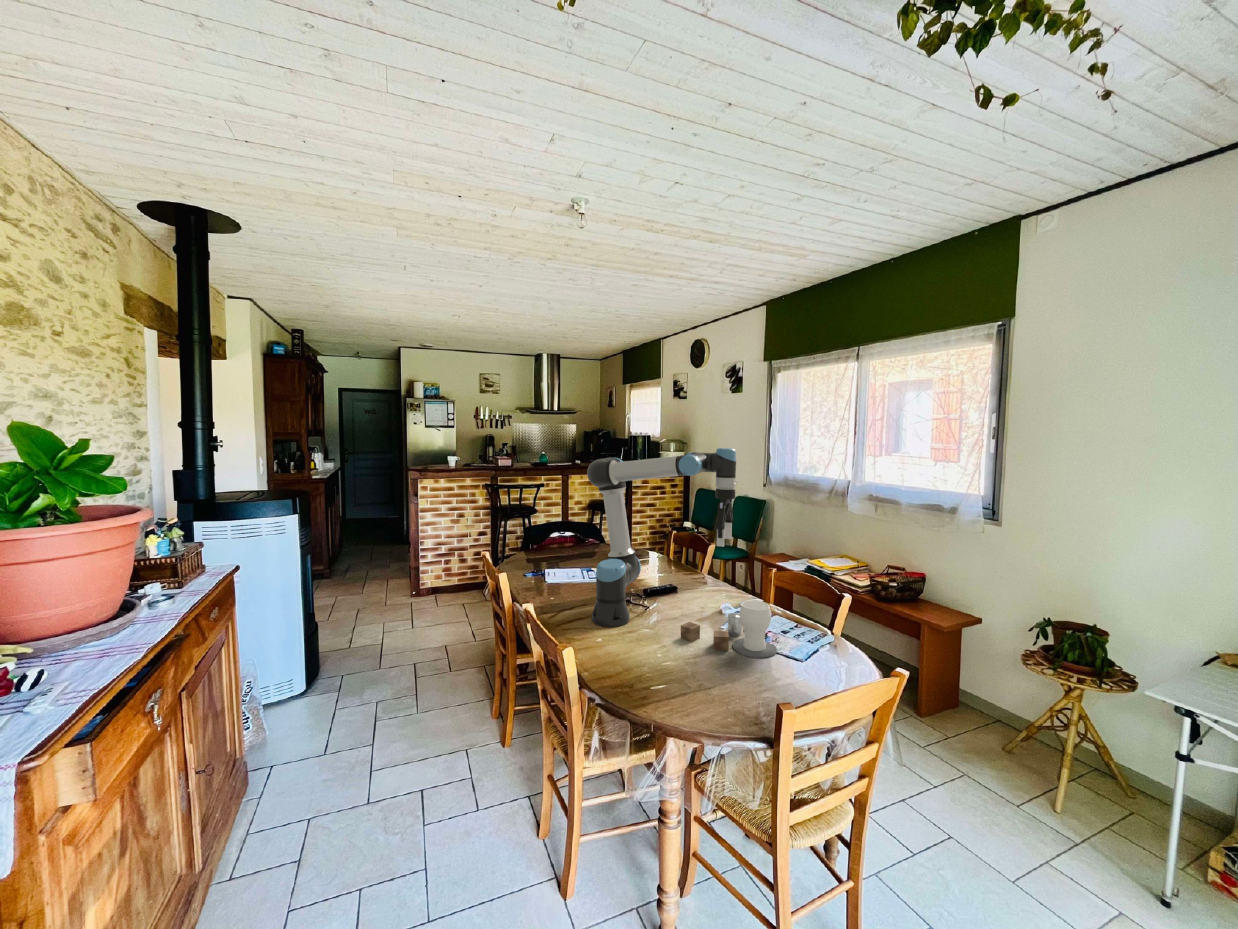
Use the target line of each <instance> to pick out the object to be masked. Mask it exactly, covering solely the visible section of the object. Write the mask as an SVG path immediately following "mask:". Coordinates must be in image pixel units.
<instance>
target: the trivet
mask: <svg viewBox="0 0 1238 929" xmlns="http://www.w3.org/2000/svg"><path fill="white" fill-rule="evenodd" d="M744 638H745V637H742V638H739V639H736V640H734V641H733V642H732V649H733V650H734V651H735V653H738V654H739V655H742V656H743V657H744V656H745V657H749V658H753V659H754V658H755V659H767V658H771V657H774V656H775V655H776V654H777V652H778V649H777V645H775V644H774V643H772V644H769V643H771V642H770V641H768V642H765V643H767V644H766V649H765V650H763V651H752V650H748V649H746V648H745V647H744V646H743V643H744Z"/></svg>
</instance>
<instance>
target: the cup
mask: <svg viewBox="0 0 1238 929" xmlns="http://www.w3.org/2000/svg"><path fill="white" fill-rule="evenodd" d="M740 605H741V606H740V608H739V614H740V619H741V626H742V627H743V628H744V629H743V630H744V631H743V632H744V637H743V638H744V643H743V646H744V647H745V648H746V649H748V650H752V651H763V650H765V649H766V643H765V641H766V639H765V638H766V631H767V630H768V628H769V626H770V625H771V620H772V611H771V607H770V604H768V603H767V602H766V601H765V602H764V601H760V600H750V599H749V600H745V601H743V602H742V603H741V604H740Z"/></svg>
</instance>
